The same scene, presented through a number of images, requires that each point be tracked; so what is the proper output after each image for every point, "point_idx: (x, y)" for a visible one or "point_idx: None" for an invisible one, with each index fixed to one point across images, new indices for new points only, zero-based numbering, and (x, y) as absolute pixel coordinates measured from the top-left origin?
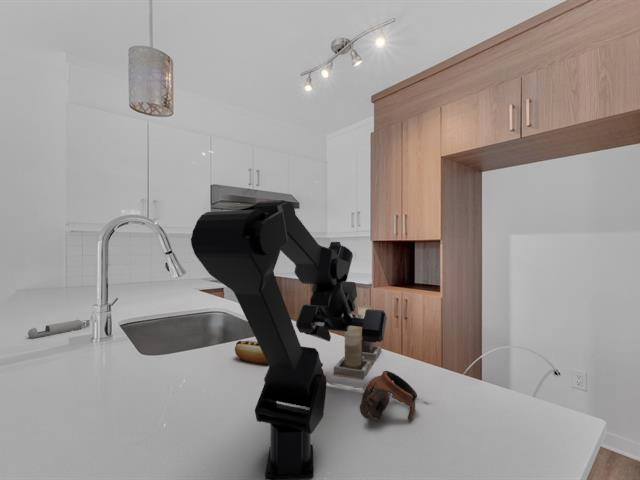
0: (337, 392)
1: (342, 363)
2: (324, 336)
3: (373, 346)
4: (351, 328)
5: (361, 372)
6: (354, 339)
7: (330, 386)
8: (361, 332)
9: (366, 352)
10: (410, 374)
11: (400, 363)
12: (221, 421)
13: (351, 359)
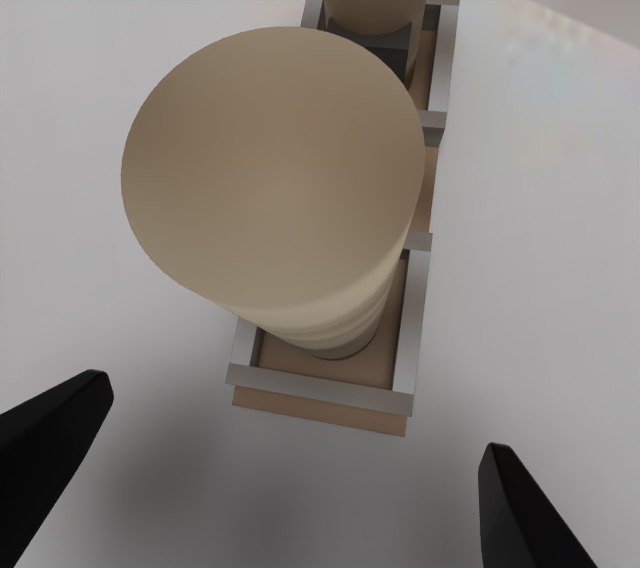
0: (284, 544)
1: None
2: (9, 549)
3: None
4: (288, 331)
5: (395, 412)
6: (335, 340)
7: (240, 479)
8: None
9: None
10: (631, 231)
11: (560, 104)
12: None
13: (324, 356)
